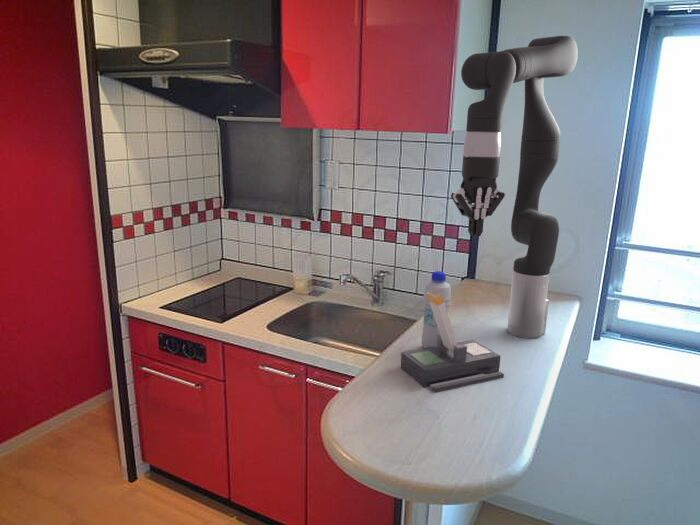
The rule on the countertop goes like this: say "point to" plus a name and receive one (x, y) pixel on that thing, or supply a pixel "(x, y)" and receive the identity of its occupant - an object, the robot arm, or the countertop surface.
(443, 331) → the lever
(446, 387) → the dark grey bar
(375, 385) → the countertop surface
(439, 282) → the bottle
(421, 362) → the switch box
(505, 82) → the robot arm
